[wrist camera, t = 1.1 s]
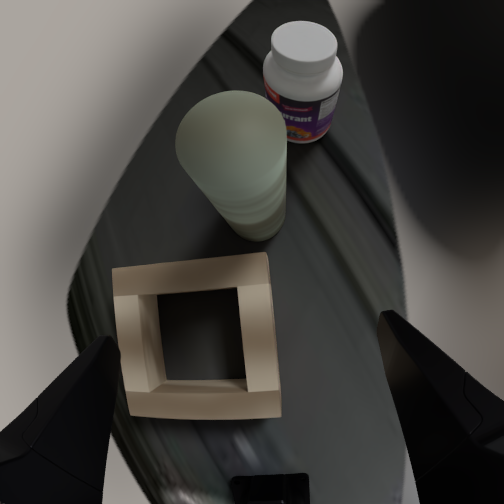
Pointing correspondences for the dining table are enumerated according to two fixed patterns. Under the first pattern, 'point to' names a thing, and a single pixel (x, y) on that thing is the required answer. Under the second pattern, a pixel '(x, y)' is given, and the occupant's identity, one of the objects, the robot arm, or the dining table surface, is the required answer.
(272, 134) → the peg
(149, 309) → the holder
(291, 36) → the pill bottle
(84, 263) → the dining table surface
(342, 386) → the dining table surface
